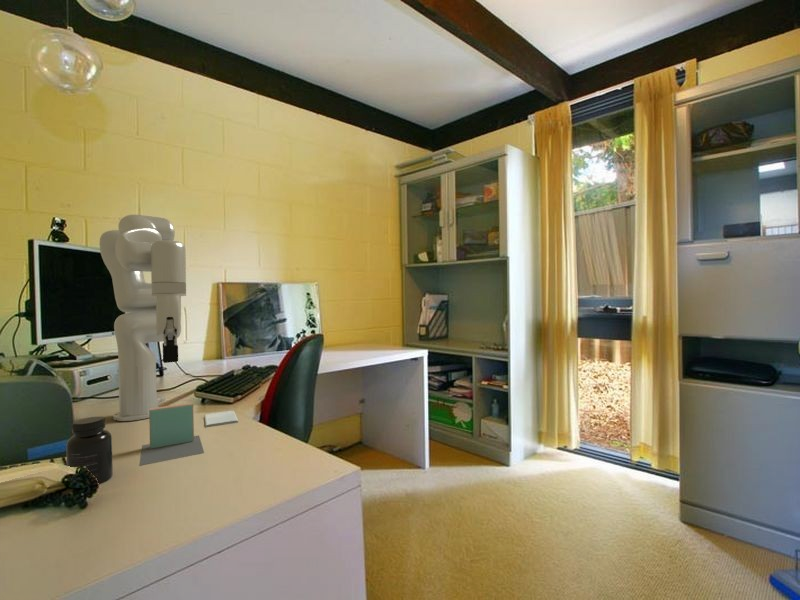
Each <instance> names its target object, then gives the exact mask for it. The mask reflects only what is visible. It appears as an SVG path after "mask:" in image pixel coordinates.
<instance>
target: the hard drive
mask: <svg viewBox="0 0 800 600" xmlns="http://www.w3.org/2000/svg"><path fill="white" fill-rule="evenodd" d="M203 417H204V424H205V428H210V427H217V426H224V425H229V424H236V423H237V424H238V423H239V420H238V416H237V415H236V413H235V411H234V410H226V411H225V410H224V411H217V412H212V413H207V414H206V413H205V414H204V416H203Z"/></svg>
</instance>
